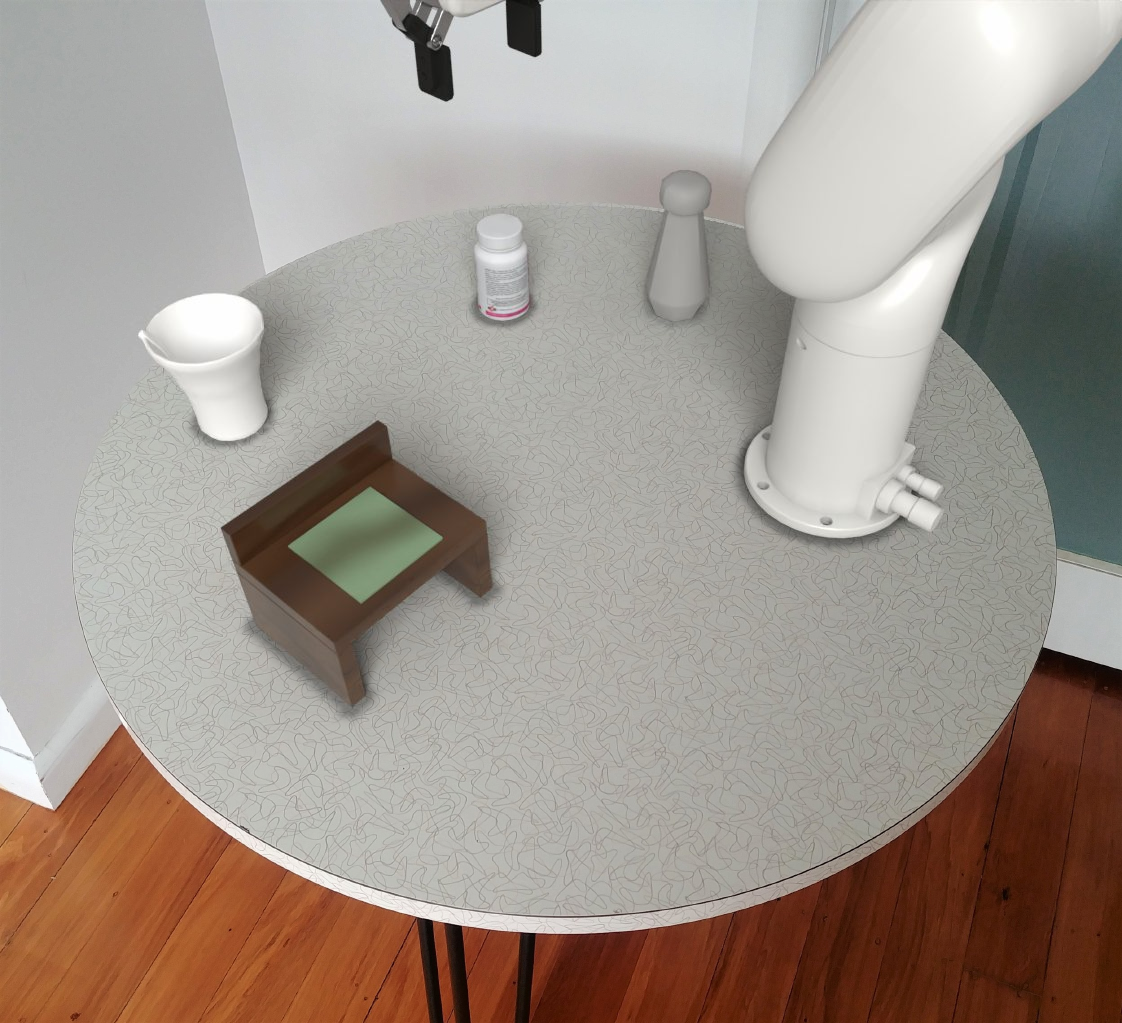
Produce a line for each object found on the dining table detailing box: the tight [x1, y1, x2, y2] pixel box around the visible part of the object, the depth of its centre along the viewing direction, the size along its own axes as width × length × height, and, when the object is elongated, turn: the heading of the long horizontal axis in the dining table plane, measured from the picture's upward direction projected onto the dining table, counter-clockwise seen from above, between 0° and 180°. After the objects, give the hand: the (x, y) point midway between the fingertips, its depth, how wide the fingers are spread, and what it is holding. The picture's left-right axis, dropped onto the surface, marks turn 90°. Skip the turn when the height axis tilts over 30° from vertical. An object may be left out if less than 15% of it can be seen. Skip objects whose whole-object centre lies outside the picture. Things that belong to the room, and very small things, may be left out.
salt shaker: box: [644, 169, 713, 323], centre depth 92 cm, size 6×6×13 cm
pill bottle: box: [473, 213, 531, 322], centre depth 94 cm, size 5×5×8 cm
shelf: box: [220, 420, 493, 707], centre depth 70 cm, size 10×13×10 cm
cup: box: [137, 292, 269, 442], centre depth 83 cm, size 9×9×10 cm
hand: (481, 72), depth 82 cm, fingers open, 9 cm apart
